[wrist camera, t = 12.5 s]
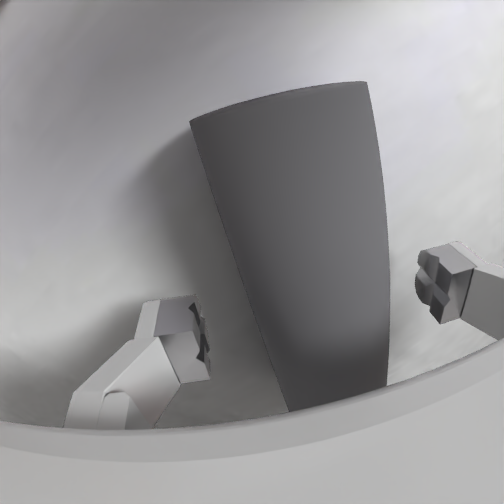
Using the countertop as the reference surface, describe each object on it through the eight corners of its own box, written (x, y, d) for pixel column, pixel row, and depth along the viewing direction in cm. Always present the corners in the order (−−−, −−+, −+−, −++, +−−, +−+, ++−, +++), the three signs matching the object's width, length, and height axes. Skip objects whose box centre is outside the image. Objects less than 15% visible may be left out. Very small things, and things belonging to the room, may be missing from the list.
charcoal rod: (363, 347, 14) (401, 415, 10) (279, 377, 13) (301, 453, 10) (326, 82, 8) (403, 81, 5) (192, 117, 8) (184, 129, 5)
